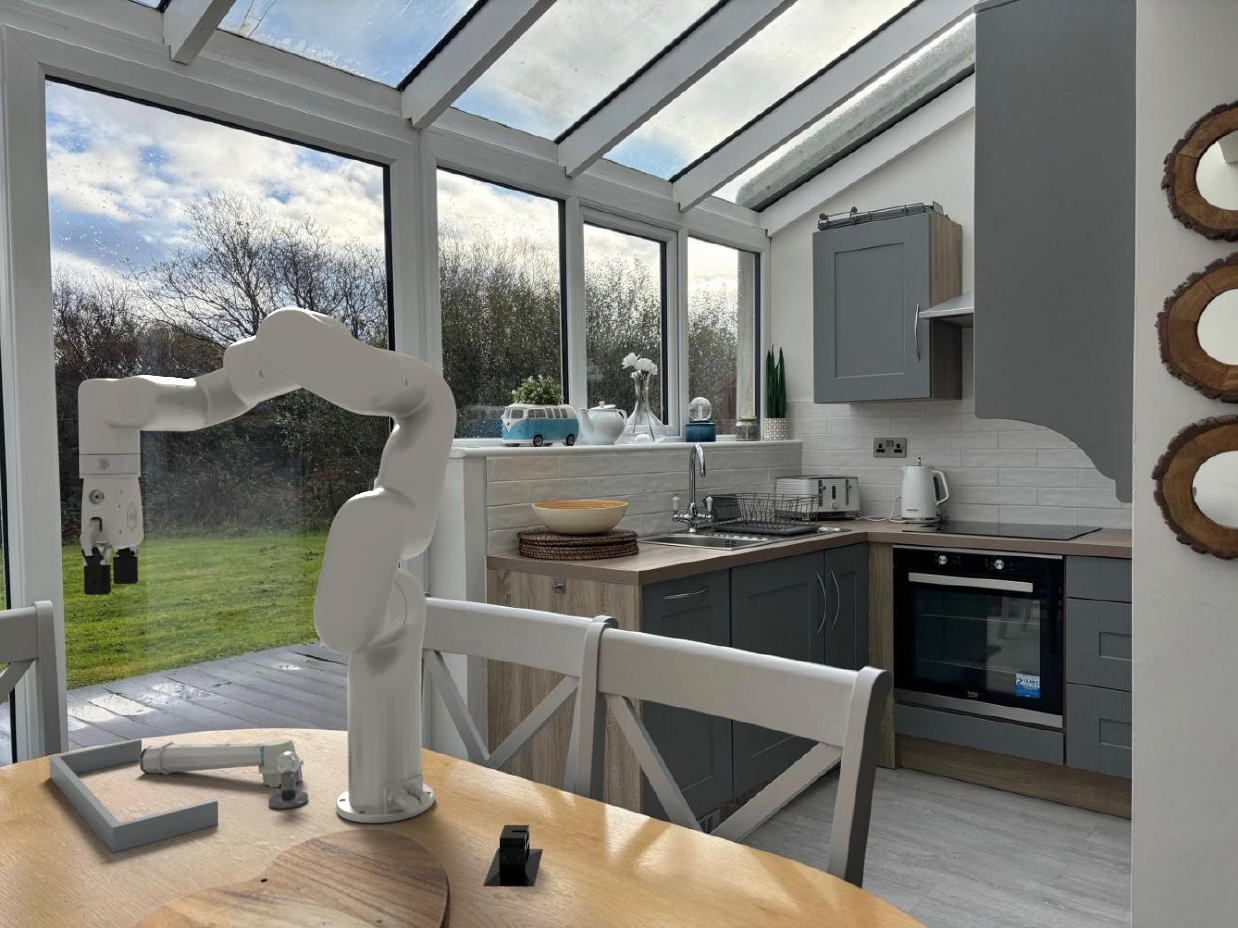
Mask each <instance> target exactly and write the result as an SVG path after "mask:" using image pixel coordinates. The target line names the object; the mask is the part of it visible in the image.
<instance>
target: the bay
mask: <svg viewBox="0 0 1238 928" xmlns="http://www.w3.org/2000/svg"><path fill="white" fill-rule="evenodd" d="M142 743H143V740H142V739H141V738H136V739H131V740H125V741H121V742H117V743H112V744H107V745H106V744H105V745H101V746H96V747H91V748H86V749H81V750H76V751H72V752H71V751H70V752H67V753H66V752H65V753H62V754H61V753H60V754H56V755H52V756H49V778H50V779H51V780H52V782H53V783H54V784H55V785H56V786H57V787H58V788H59V790H60V791H61V792H62V794H63V795H64V796H65V797H66V798H67V799H68V801H69V802H70V803H71V804H72V806H74V808H75V809H76V810H77V812H78V813H79V815H81V817H83V818H84V819H85V821H86V822H87V824H89V825H90V827H91V828H92V830H94V832H95V833H96V834H97V836H98V837H100V839H101V840H102V842H103V843H104V844H105V845H106V846H107V847H108V849H109V850H110V851H111V852H112V853H113V854H114V853H118V852H122V851H125V850H128V849H133V848H135V847H136V848H137V847H140V846H143V845H147V844H150V843H151V844H152V843H155V842H158V841H162V840H166V839H169V838H173V837H177V836H181V835H184V834H188V833H191V832H196V831H198V830H203V829H206V828H209V827H212V826H217V825H219V801H218V800H217V798H212V799H208V800H205V801H200V802H196V803H192V804H189V805H188V804H187V805H185V806H180V807H176V808H173V809H168V810H163V811H161V812H158V813H153V814H149V815H144V816H141V817H136V818H133V819H130V820H125V821H122V822H120V821H119V820H118V819H117V818H116V817H115V815H113V814H112V812H111V811H110V810H109V809H108V808H107V807H106V806H105V805H104V804H103V803H102V802H101V801H100V799H99V798H98V797H97V796H96V795H95V794H94V793H93V791H91V790H90V789H89V787H87V785H86V784H85V783H84V782H83V781H82V780H81V779H80V778H79V777H78V775H77V774H82V773H86V772H91V771H95V770H96V771H97V770H100V769H105V768H111V767H114V766H118V765H124V764H128V763H132V762H137V761H139V758H140V756H141V754H142V751H143V747H142V746H143V745H142Z"/></svg>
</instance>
